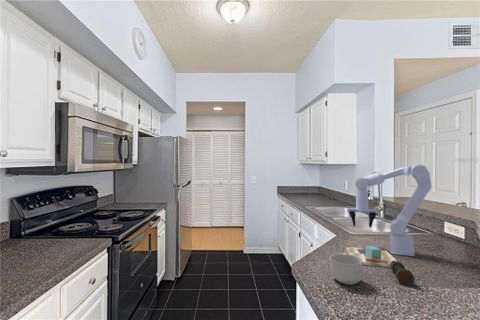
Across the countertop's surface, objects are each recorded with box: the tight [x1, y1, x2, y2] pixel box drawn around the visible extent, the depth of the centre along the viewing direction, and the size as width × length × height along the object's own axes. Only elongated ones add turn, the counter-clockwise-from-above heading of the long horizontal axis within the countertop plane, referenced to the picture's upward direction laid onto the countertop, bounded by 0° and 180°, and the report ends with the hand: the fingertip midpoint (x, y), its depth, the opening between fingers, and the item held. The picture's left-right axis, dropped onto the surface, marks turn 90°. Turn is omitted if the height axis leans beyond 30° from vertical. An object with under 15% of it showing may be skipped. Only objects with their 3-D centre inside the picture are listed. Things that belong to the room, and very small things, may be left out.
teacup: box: [329, 252, 364, 286], centre depth 86 cm, size 14×11×8 cm
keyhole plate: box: [345, 246, 397, 269], centre depth 108 cm, size 18×20×2 cm
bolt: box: [390, 260, 416, 287], centre depth 89 cm, size 6×5×15 cm
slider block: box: [364, 245, 382, 259], centre depth 104 cm, size 4×5×6 cm
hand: (362, 226), depth 126 cm, fingers open, 7 cm apart
